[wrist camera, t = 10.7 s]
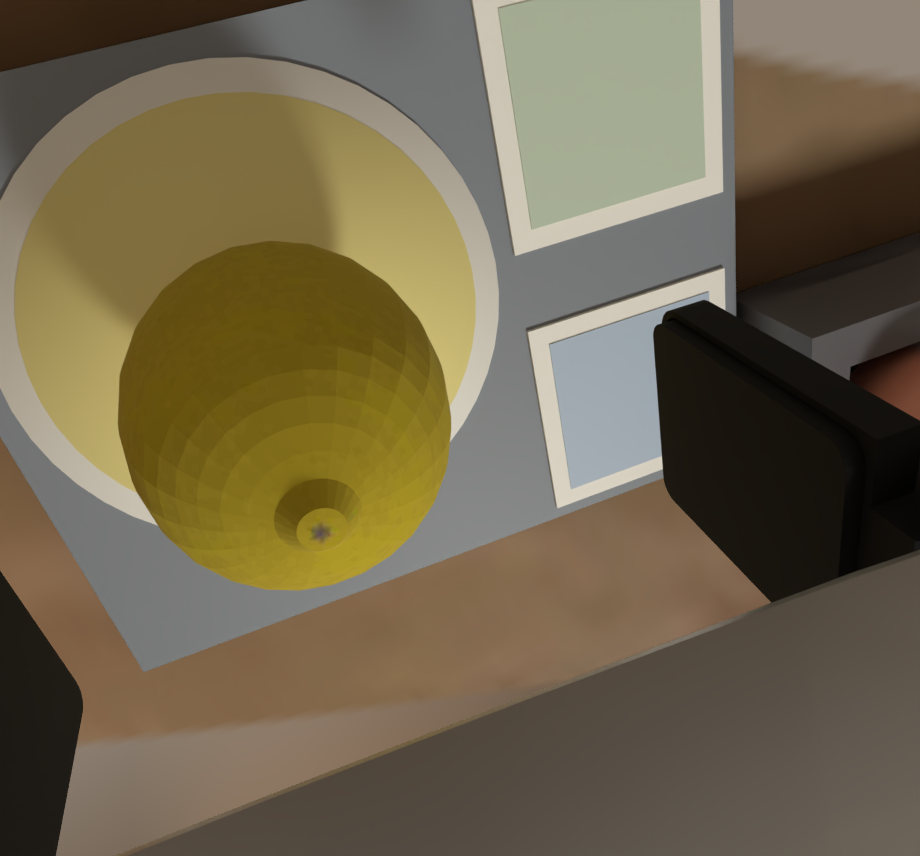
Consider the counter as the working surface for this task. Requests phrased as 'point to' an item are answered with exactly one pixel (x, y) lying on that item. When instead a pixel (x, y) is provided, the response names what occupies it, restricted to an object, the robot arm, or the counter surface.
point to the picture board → (370, 248)
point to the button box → (843, 306)
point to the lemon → (284, 416)
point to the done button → (893, 378)
